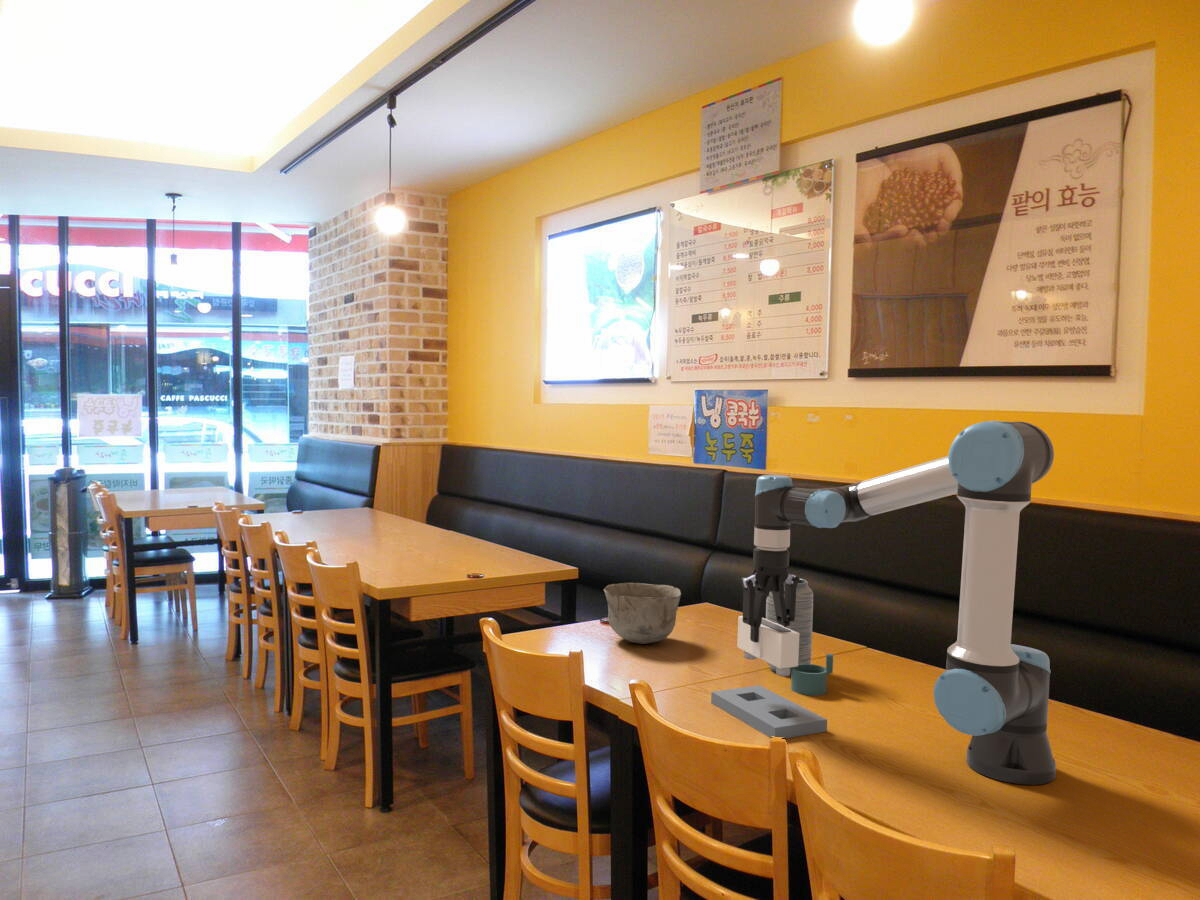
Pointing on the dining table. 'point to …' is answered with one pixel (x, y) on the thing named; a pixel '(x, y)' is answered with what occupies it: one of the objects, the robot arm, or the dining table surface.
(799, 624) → the vase
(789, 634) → the block
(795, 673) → the bracket
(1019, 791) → the dining table surface
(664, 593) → the bowl
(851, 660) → the dining table surface
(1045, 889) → the dining table surface
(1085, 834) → the dining table surface
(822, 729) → the board
